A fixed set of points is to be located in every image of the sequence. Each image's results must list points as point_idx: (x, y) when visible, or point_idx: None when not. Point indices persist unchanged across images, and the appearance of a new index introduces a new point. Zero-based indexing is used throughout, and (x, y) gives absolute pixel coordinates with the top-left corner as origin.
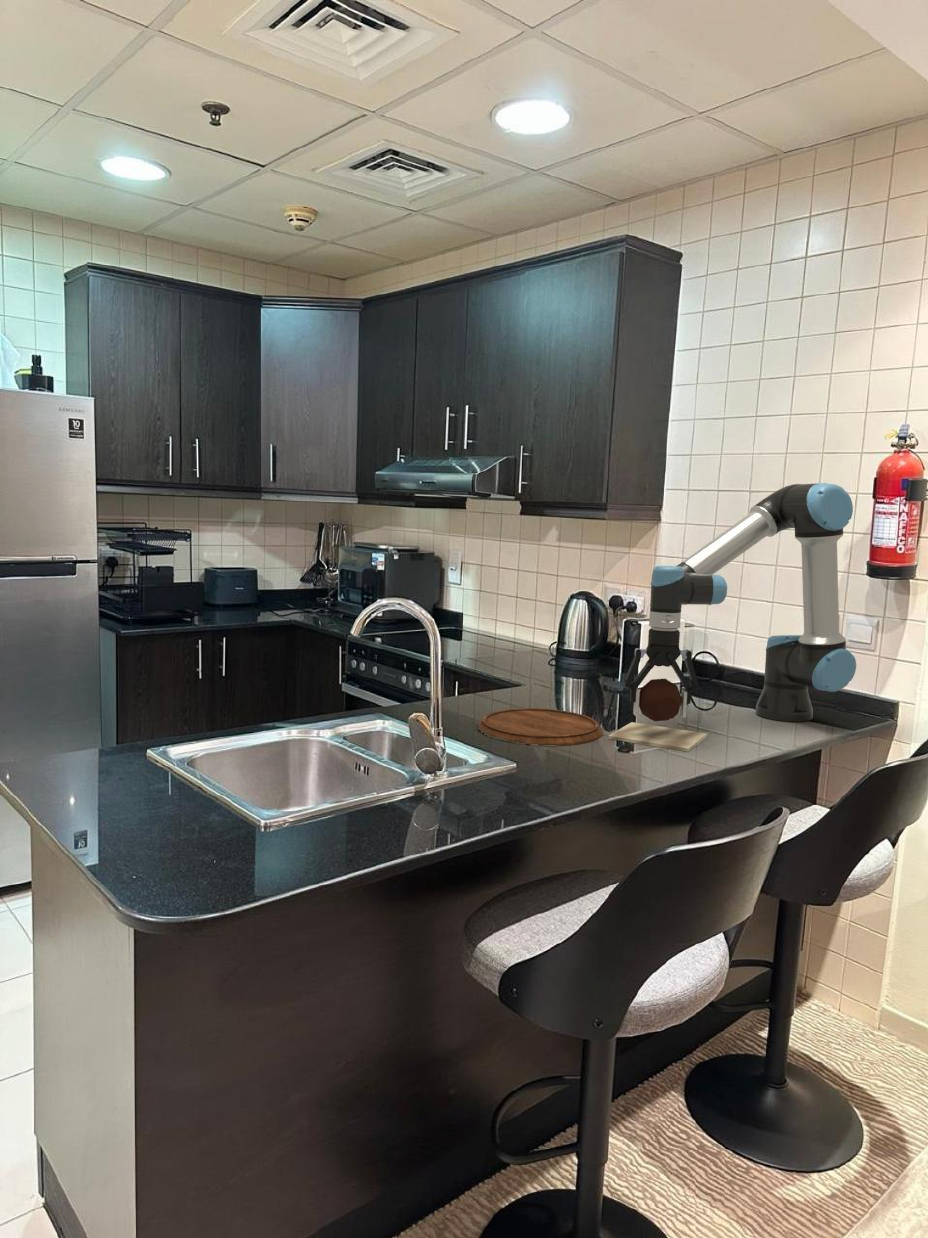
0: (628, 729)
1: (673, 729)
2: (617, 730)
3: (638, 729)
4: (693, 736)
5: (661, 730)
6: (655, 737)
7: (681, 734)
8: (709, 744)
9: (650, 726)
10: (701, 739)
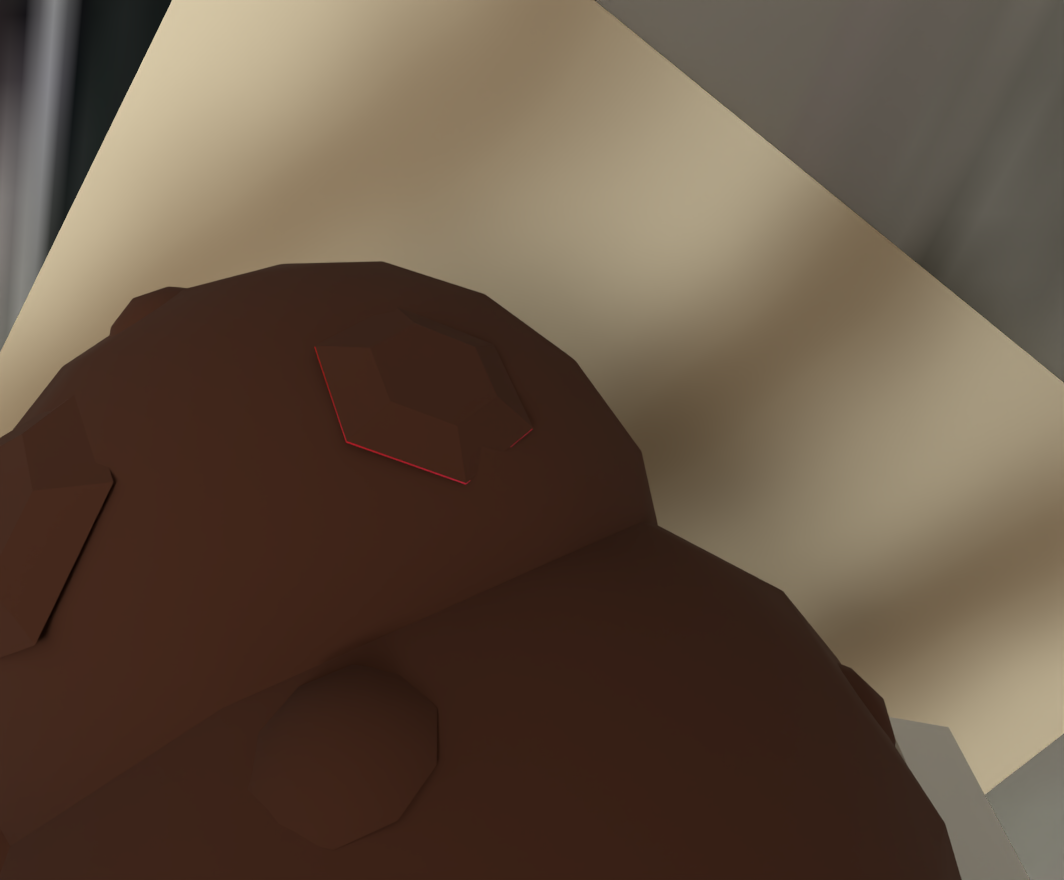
0: (162, 283)
1: (850, 304)
2: (11, 332)
3: None
4: (956, 683)
5: (627, 360)
6: None
7: (833, 583)
8: (1032, 848)
9: (539, 99)
10: (1014, 756)
